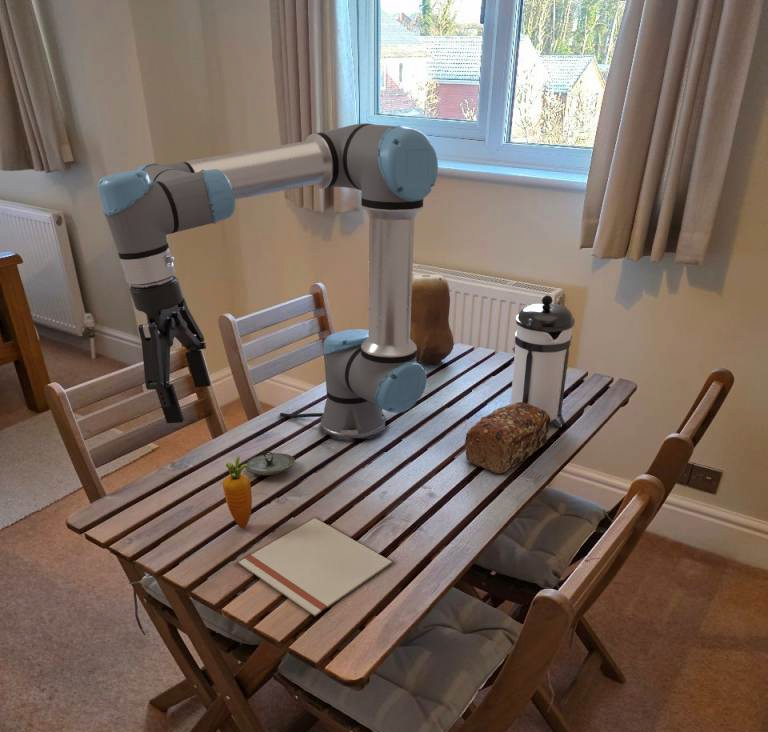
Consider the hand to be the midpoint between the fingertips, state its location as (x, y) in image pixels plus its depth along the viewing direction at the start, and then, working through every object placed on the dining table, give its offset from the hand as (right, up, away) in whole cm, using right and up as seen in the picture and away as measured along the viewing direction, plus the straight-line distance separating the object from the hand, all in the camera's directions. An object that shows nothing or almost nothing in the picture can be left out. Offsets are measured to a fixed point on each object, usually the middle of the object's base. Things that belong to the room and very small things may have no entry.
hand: (190, 403), depth 119 cm
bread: (+60, -7, +34) cm, 70 cm away
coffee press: (+69, +2, +49) cm, 85 cm away
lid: (+9, -11, +30) cm, 33 cm away
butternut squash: (+46, +20, +79) cm, 94 cm away
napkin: (+21, -28, +2) cm, 35 cm away
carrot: (+7, -23, +12) cm, 26 cm away
